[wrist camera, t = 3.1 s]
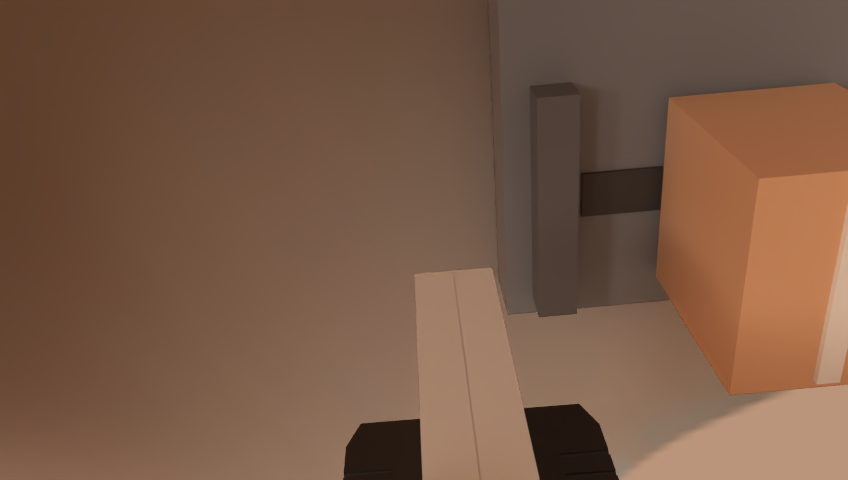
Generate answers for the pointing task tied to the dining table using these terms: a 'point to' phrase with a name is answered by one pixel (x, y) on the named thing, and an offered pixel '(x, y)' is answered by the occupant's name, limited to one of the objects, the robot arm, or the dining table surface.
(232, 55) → the dining table surface
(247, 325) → the dining table surface
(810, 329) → the terracotta fader knob
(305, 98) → the dining table surface
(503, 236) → the console
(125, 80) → the dining table surface
